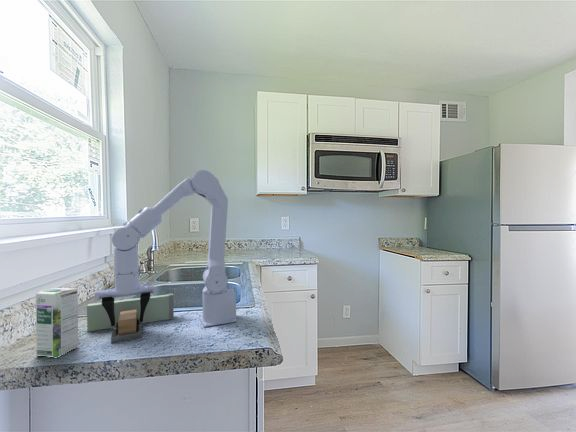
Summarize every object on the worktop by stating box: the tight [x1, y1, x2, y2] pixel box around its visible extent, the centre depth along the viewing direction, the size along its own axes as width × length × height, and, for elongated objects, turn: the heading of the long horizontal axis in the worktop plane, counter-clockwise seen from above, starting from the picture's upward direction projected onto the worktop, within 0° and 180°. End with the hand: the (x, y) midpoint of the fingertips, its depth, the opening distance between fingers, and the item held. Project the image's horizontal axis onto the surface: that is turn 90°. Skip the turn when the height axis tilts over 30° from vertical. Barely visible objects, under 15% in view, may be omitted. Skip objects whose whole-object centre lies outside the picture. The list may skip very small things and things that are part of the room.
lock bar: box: [117, 309, 138, 335], centre depth 79 cm, size 8×4×5 cm, turn 26°
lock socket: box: [110, 319, 143, 344], centre depth 79 cm, size 7×11×2 cm, turn 26°
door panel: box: [86, 292, 175, 332], centre depth 86 cm, size 22×2×7 cm, turn 116°
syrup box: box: [35, 287, 79, 357], centre depth 68 cm, size 6×6×14 cm
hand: (127, 322), depth 79 cm, fingers open, 6 cm apart
